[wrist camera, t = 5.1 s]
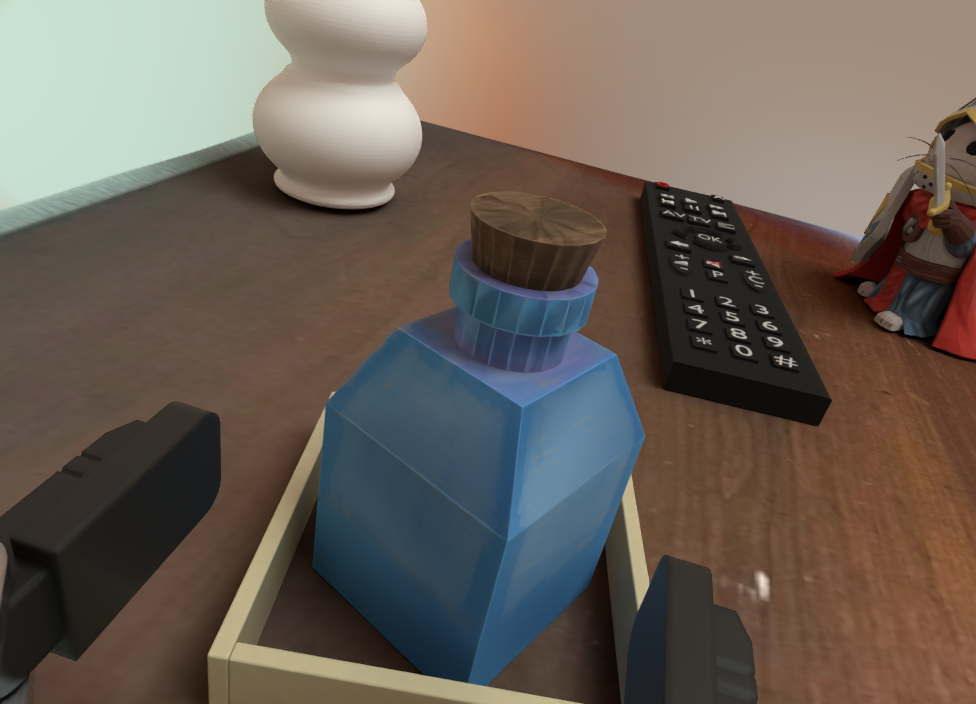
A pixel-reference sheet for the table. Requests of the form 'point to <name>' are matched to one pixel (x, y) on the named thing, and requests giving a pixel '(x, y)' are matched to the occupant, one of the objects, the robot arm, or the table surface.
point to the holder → (357, 687)
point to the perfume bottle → (481, 450)
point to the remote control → (722, 310)
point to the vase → (341, 100)
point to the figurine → (928, 244)
